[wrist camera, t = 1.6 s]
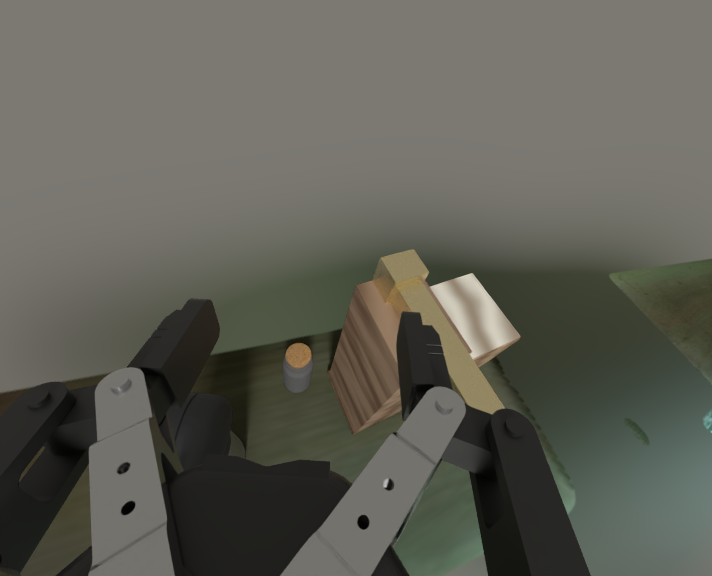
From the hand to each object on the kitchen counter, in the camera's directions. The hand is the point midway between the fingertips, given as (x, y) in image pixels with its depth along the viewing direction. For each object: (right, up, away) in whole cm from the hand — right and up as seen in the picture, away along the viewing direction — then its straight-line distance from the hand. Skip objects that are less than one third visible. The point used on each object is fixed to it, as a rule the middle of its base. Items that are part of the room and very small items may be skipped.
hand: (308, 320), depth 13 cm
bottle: (-11, -19, +56) cm, 60 cm away
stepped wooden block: (+10, -20, +59) cm, 64 cm away
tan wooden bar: (+12, -7, +24) cm, 28 cm away
